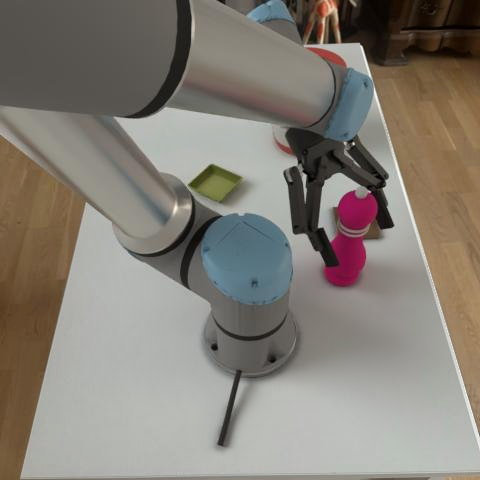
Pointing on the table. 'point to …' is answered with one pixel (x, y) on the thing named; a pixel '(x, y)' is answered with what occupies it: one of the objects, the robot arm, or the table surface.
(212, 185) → the olive green square tray
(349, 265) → the pepper mill
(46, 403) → the table surface
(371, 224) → the wooden coaster
